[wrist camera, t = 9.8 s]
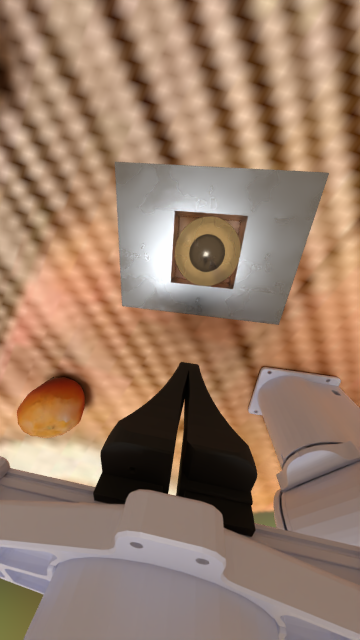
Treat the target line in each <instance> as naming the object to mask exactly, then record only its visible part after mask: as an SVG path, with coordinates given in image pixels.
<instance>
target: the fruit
mask: <svg viewBox="0 0 360 640" xmlns="http://www.w3.org/2000/svg"><path fill="white" fill-rule="evenodd" d="M84 405H85V398H84V393H83V390H82V388H81V386H80V385H79V384H78V383H77V382H76V381H74V380H71V379H69V378H65V377H58V378H54V377H53V378H52V379H50V380H48V381H47V382H45V383H44V384H42V385H41V386H39V387H38V388H36V389H35V390H33V391H32V392H30V393H29V394H28V395H27V397H26V398H25V399H24V401H23V402H22V403H21V405H20V406H19V408H18V410H17V417H18V424H19V426H20V427H21V429H22V430H23V431H24V432H25V433H27V434H29V435H31V436H38V437H42V438H50V437H55V436H58V435H63V434H64V433H66V432H67V431H69V430H71V429H72V428H73V427H75V426H76V425H77V424H78V423H79V422H80V420H81V417H82V414H83V411H84Z"/></svg>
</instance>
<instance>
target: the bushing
mask: <svg viewBox="0 0 360 640" xmlns="http://www.w3.org/2000/svg"><path fill="white" fill-rule="evenodd" d="M240 251H241V247H240V241H239V237H238V235H237V233H236V231H235V230H234V228H233V227H232V226H231V225H230V224H229V223H228V222H226V221H225V220H223V219H220V218H217V217H202V218H198V219H196V220H194V221H192V222H191V223H190V224H188V225H187V226H186V227H185V228H184V229H183V231H182V232H181V233H180V235H179V237H178V240H177V242H176V247H175V260H176V264H177V267H178V269H179V271H180V272H181V274H182V275H183V276H184V277H185V278H186V279H187V280H188V281H190V282H192V283H194V284H196V285H200V286H212V285H216V284H218V283H220V282H222V281H224V280H225V279H227V278H228V277H229V276H230V275H231V274H232V273H233V271H234V270H235V268H236V266H237V264H238V262H239V258H240Z"/></svg>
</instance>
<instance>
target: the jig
mask: <svg viewBox="0 0 360 640" xmlns="http://www.w3.org/2000/svg"><path fill="white" fill-rule="evenodd" d="M115 174H116V194H117V213H118V233H119V253H120V273H121V293H122V306H126V307H135V308H143V309H151V310H160V311H168V312H177V313H185V314H193V315H202V316H210V317H218V318H227V319H235V320H244V321H252V322H260V323H269V324H277V325H279V322H280V319H281V316H282V313H283V310H284V307H285V304H286V301H287V298H288V295H289V292H290V289H291V286H292V283H293V280H294V277H295V274H296V271H297V268H298V265H299V262H300V259H301V256H302V253H303V250H304V247H305V244H306V241H307V238H308V235H309V232H310V229H311V226H312V223H313V220H314V217H315V214H316V211H317V208H318V205H319V202H320V199H321V196H322V193H323V190H324V187H325V184H326V181H327V178H328V175H329V173H323V172H303V171H283V170H264V169H244V168H224V167H205V166H185V165H165V164H146V163H126V162H115ZM179 217H193V218H202V217H217V218H220V219H223V220H233V221H241V222H240V228H239V233H238V237H239V241H240V247H241V251H240V258H239V262H238V264H237V266H236V268H235V270H234V271H233V273H232V274H231V275H230V280H229V283H222V282H220V283H218V284H216V285H212V286H200V285H196V284H194V283H192V282H190V281H188V280H187V279H183V278H175V270H176V260H175V247H176V242H177V240H178V227H179Z"/></svg>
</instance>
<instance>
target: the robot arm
mask: <svg viewBox="0 0 360 640" xmlns="http://www.w3.org/2000/svg"><path fill="white" fill-rule="evenodd" d="M268 371H270V372H268ZM327 379H328V380H327ZM340 383H341V380H340V379H339V378H338V377H333V376H326V375H319V374H312V373H304V372H297V371H290V370H283V369H276V368H268V367H263V368H262V369H261V371H260V374H259V377H258V380H257V383H256V386H255V389H254V392H253V395H252V398H251V401H250V405H249V408H248V411H249V413H251V414H257V415H263V418H264V421H265V424H266V426H267V429H268V432H269V435H270V438H271V441H272V443H273V446H274V449H275V452H276V455H277V457H278V460H279V463H280V466H281V469H282V471H281V472H280V473H278V474H277V475H276V476H277V479H278V482H279V485H280V488H281V489H279V490H278V491H277V492H276V493H275V496H274V516H275V523H276V528H274V527H269V526H265V525H260V524H256V523H254V518H253V513H252V507H251V505H252V504H253V501H252V496H251V490H252V488H253V486H254V483H255V481H256V479H257V470H256V466H255V462H254V459H253V457H252V454H251V451H250V449H249V446H248V445H247V444H246V443H245V442H244V441H243V440H242V439H241V438H240V436H239V435H238V434H237V433H236V432H235V431H234V430H233V429H232V428H231V426H230V425H229V424H228V422H227V421H226V420H225V418H224V417H223V416H222V414H221V413H220V412H219V410H218V408H217V407H216V405H215V404H214V402H213V400H212V398H211V397H210V395H209V393H208V391H207V388H206V386H205V384H204V381H203V379H202V376H201V373H200V369H199V365H197V364H191V363H185V362H181V363H180V364H179V366H178V368H177V370H176V371H175V373H174V374H173V376H172V377H171V379H170V380H169V381H168V382H167V384H166V385H165V386H164V387H163V388H162V389H161V390H160V391H159V392H158V393H157V394H156V395H155V396H154V397H153V398H152V399H151V400H150V401H148V402H147V403H146V404H145V405H143V406H142V407H140V408H139V409H138V410H136V411H135V412H133V413H132V414H130V415H128V416H127V417H125V418H123V419H122V420H120V421H119V422H118V423H117V424H116V426H115V427H114V429H113V430H112V432H111V433H110V435H109V436H108V438H107V440H106V442H105V444H104V446H103V448H102V450H101V464H102V474H101V476H100V479H99V481H98V483H97V485H96V487H92V486H87V485H83V484H78V483H74V482H69V481H65V480H60V479H56V478H52V477H47V476H43V475H38V474H34V473H29V472H25V471H20V470H16V469H12V468H10V465H9V462H8V461H7V460H6V459H5V458H3V457H1V456H0V578H1V579H4V580H7V581H9V582H12V583H15V584H17V585H20V586H23V587H25V588H28V589H31V590H33V591H36V592H39V593H41V594H44V596H43V598H42V600H41V602H40V604H39V607H38V609H37V611H36V613H35V615H34V617H33V620H32V622H31V624H30V626H29V628H28V631H27V633H26V635H25V637H24V639H23V640H360V408H359V407H358V406H357V405H356V404H355V403H354V402H353V401H352V400H351V399H350V398H349V397H348V395H347V394H346V393H345V392H344V391H343V390H342V389H341V388H340V387H339V384H340ZM184 399H185V407H184V433H183V442H182V451H181V460H180V468H179V476H178V485H177V493H176V496H174V495H170V494H168V491H169V484H170V477H171V470H172V463H173V456H174V449H175V442H176V435H177V430H178V425H179V421H180V416H181V412H182V408H183V403H184Z"/></svg>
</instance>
